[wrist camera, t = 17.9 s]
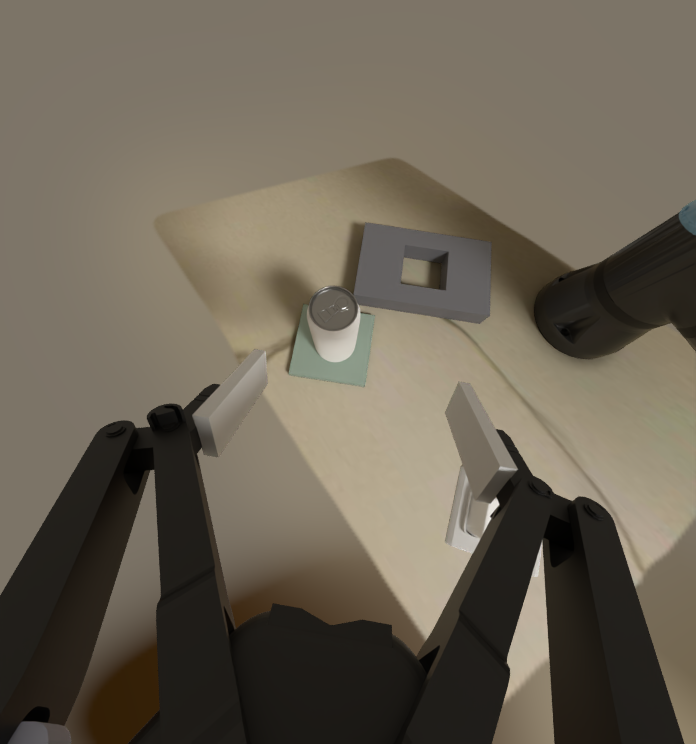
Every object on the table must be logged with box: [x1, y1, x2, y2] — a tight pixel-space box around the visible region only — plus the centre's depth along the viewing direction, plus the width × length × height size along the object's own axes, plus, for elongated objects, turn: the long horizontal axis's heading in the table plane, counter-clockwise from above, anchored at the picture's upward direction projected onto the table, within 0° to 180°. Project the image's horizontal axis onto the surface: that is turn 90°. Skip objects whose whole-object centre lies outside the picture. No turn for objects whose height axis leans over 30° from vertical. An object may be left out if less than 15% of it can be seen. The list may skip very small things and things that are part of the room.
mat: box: [289, 304, 375, 387], centre depth 40 cm, size 12×12×1 cm
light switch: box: [445, 466, 543, 577], centre depth 34 cm, size 11×4×13 cm
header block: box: [354, 222, 491, 324], centre depth 42 cm, size 22×14×3 cm, turn 81°
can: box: [307, 286, 360, 362], centre depth 34 cm, size 6×6×12 cm
